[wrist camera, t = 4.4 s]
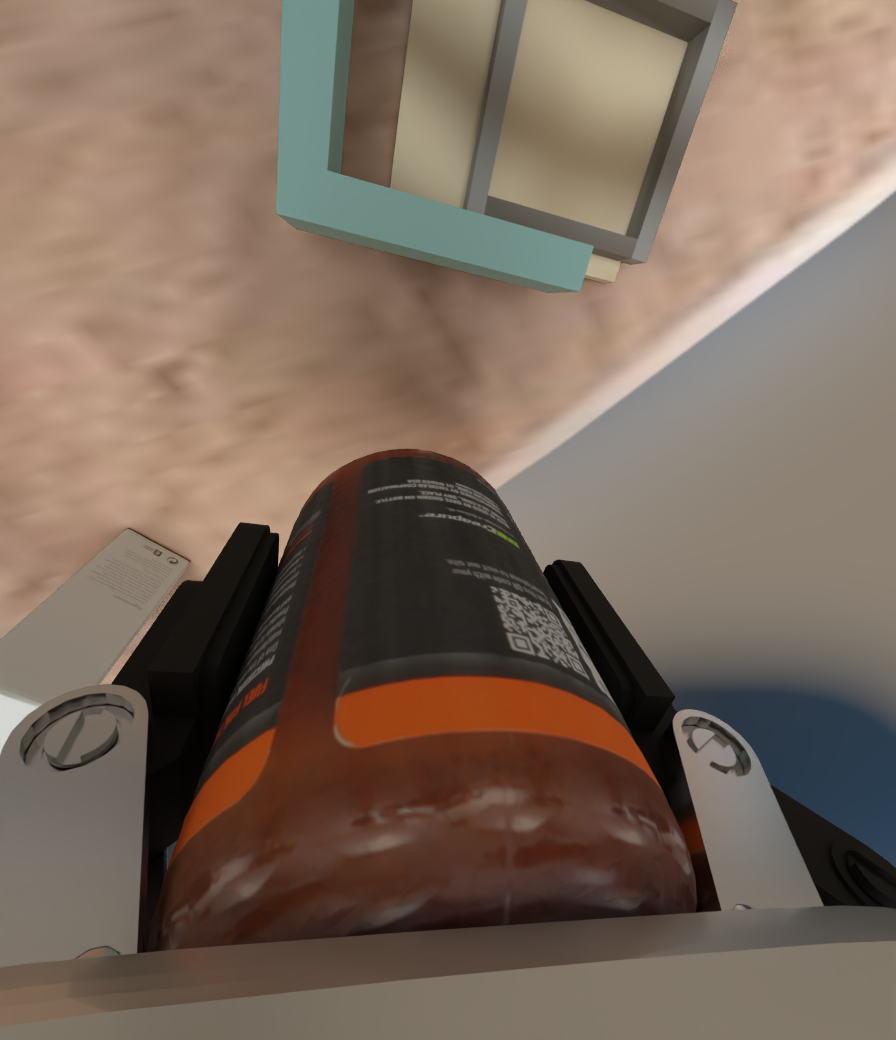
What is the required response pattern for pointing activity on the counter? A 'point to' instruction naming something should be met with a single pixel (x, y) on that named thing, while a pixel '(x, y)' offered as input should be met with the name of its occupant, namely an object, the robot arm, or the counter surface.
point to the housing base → (557, 112)
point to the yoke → (374, 208)
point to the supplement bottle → (416, 739)
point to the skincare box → (83, 625)
